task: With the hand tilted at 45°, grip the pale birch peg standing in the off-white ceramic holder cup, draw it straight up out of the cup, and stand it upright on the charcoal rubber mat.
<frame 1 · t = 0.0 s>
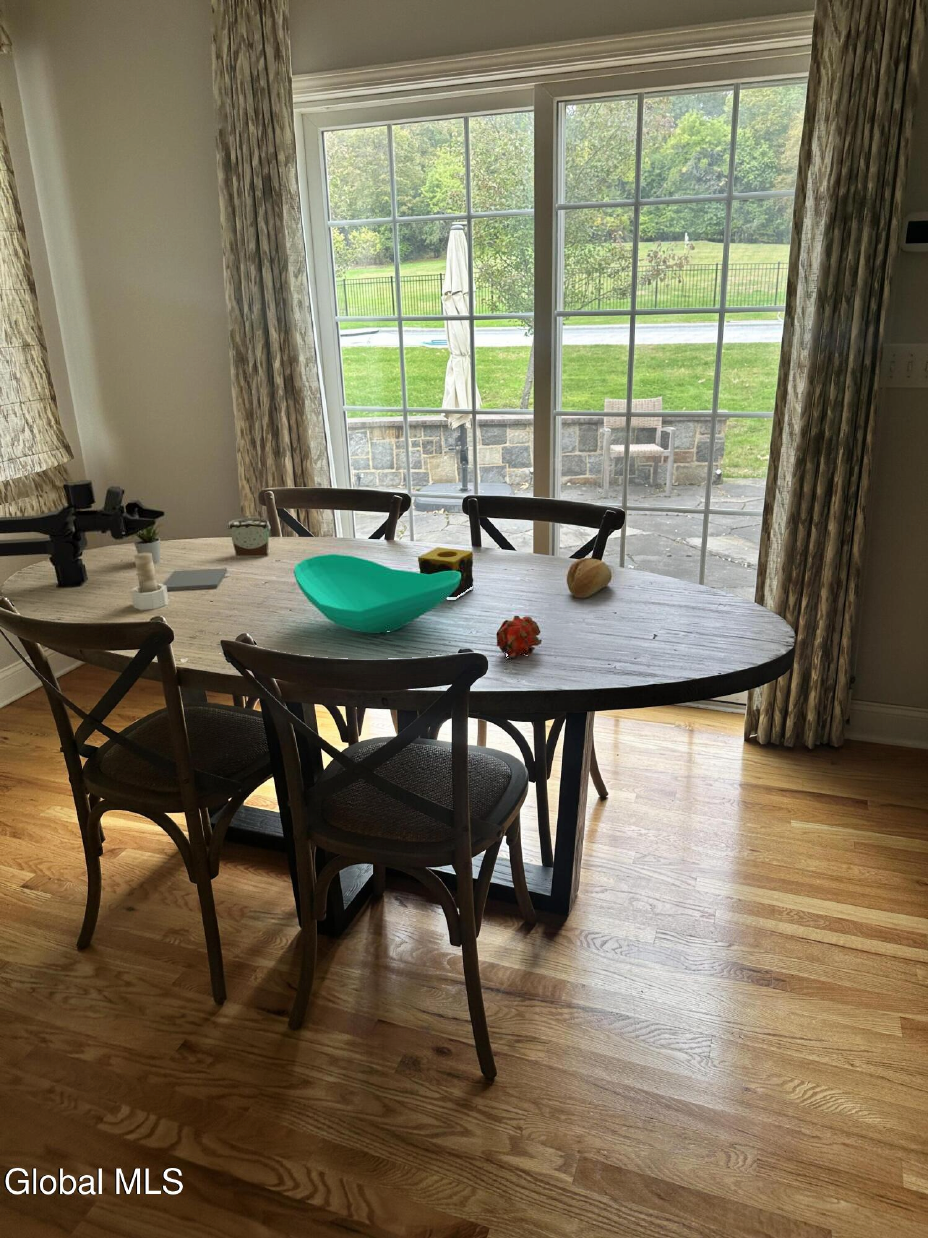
hand: (159, 517, 222), 17 cm above the table, tool horizontal, fingers open, 9 cm apart
house plant: (148, 561, 245), on the table
table top decor: (380, 628, 189), on the table
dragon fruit: (518, 655, 172), on the table
holder cup: (151, 604, 209), on the table
food container: (255, 554, 248), on the table
bread roll: (588, 592, 207), on the table
birch peg: (147, 579, 207), in the holder cup
rubber mat: (195, 581, 225), on the table
candle: (446, 593, 210), on the table
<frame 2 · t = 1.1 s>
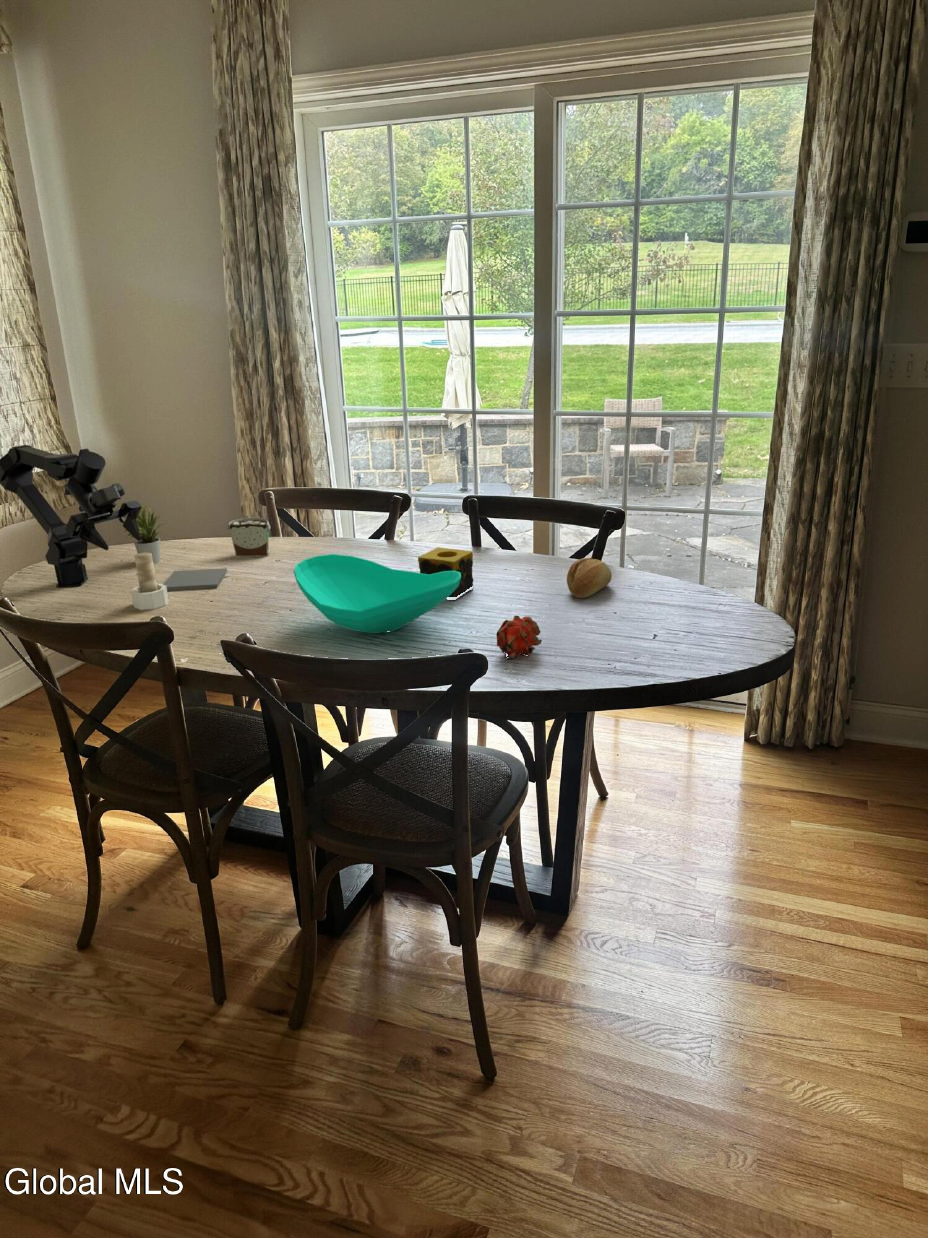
hand: (124, 544, 208), 14 cm above the table, tool tilted 45°, fingers open, 9 cm apart
nothing on the table moved.
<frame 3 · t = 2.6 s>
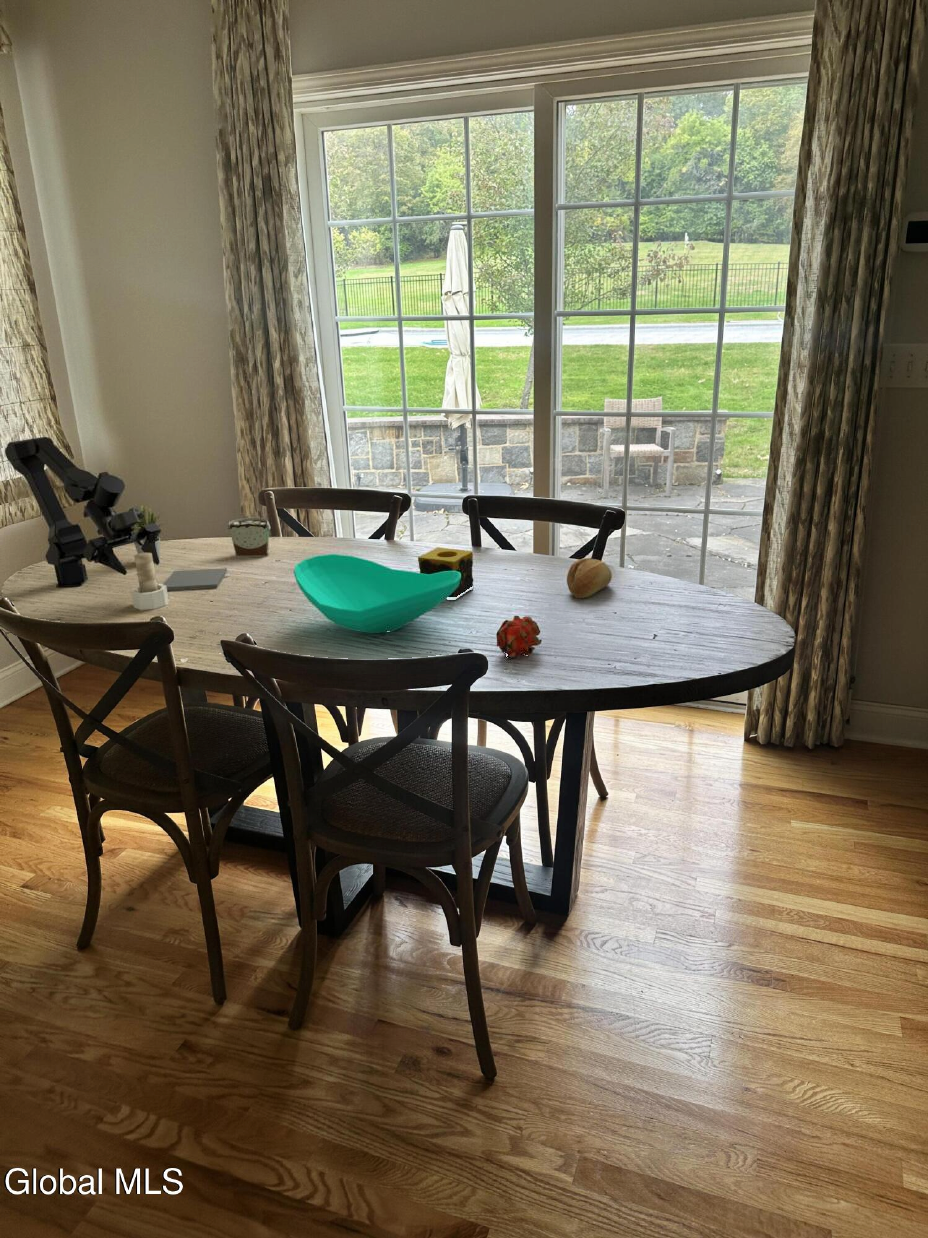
hand: (142, 568, 206), 9 cm above the table, tool tilted 45°, fingers open, 9 cm apart
nothing on the table moved.
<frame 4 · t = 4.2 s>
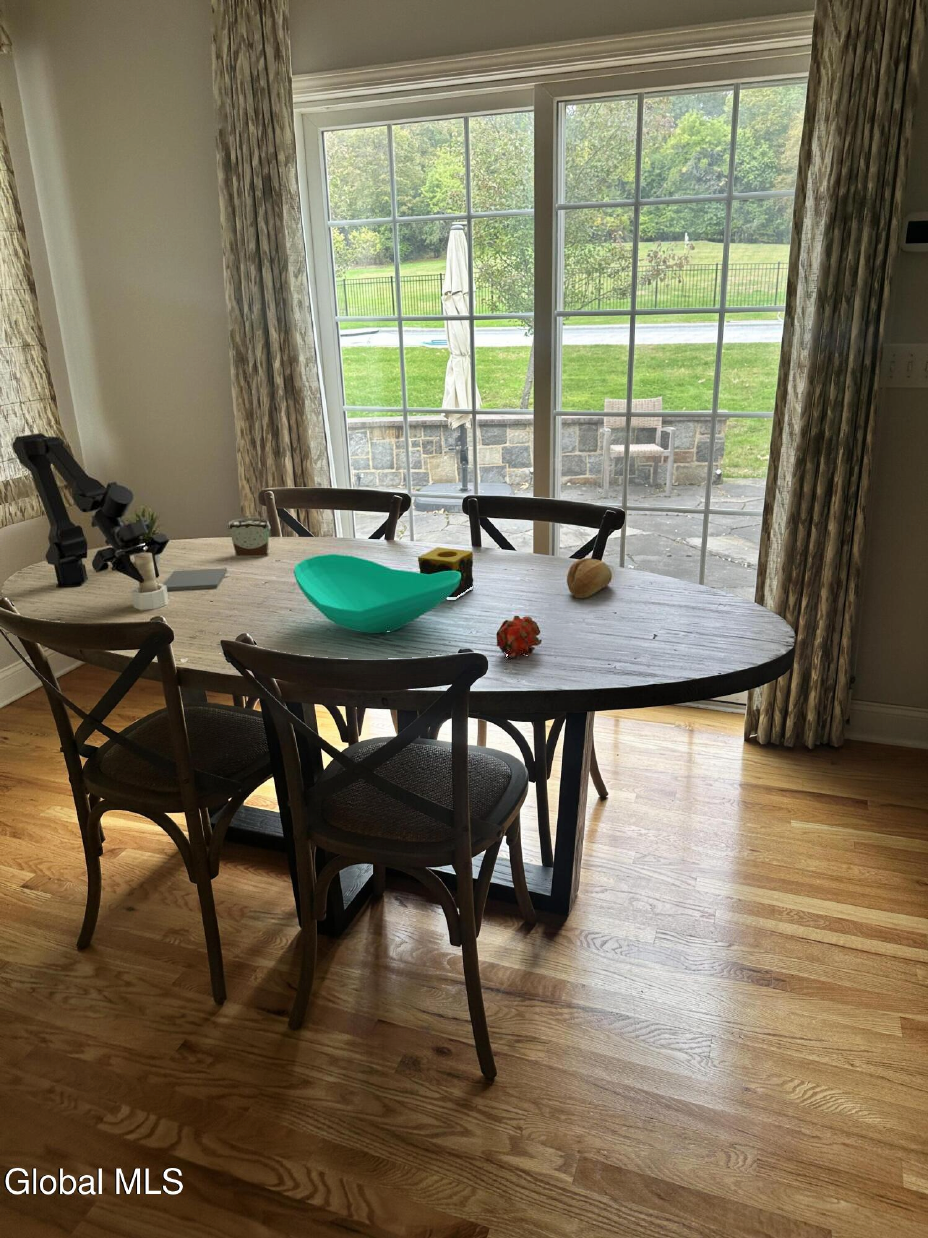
hand: (150, 579, 206), 7 cm above the table, tool tilted 45°, fingers closed on birch peg, 4 cm apart
birch peg: (147, 579, 207), in the holder cup, touching gripper
everything else where it was.
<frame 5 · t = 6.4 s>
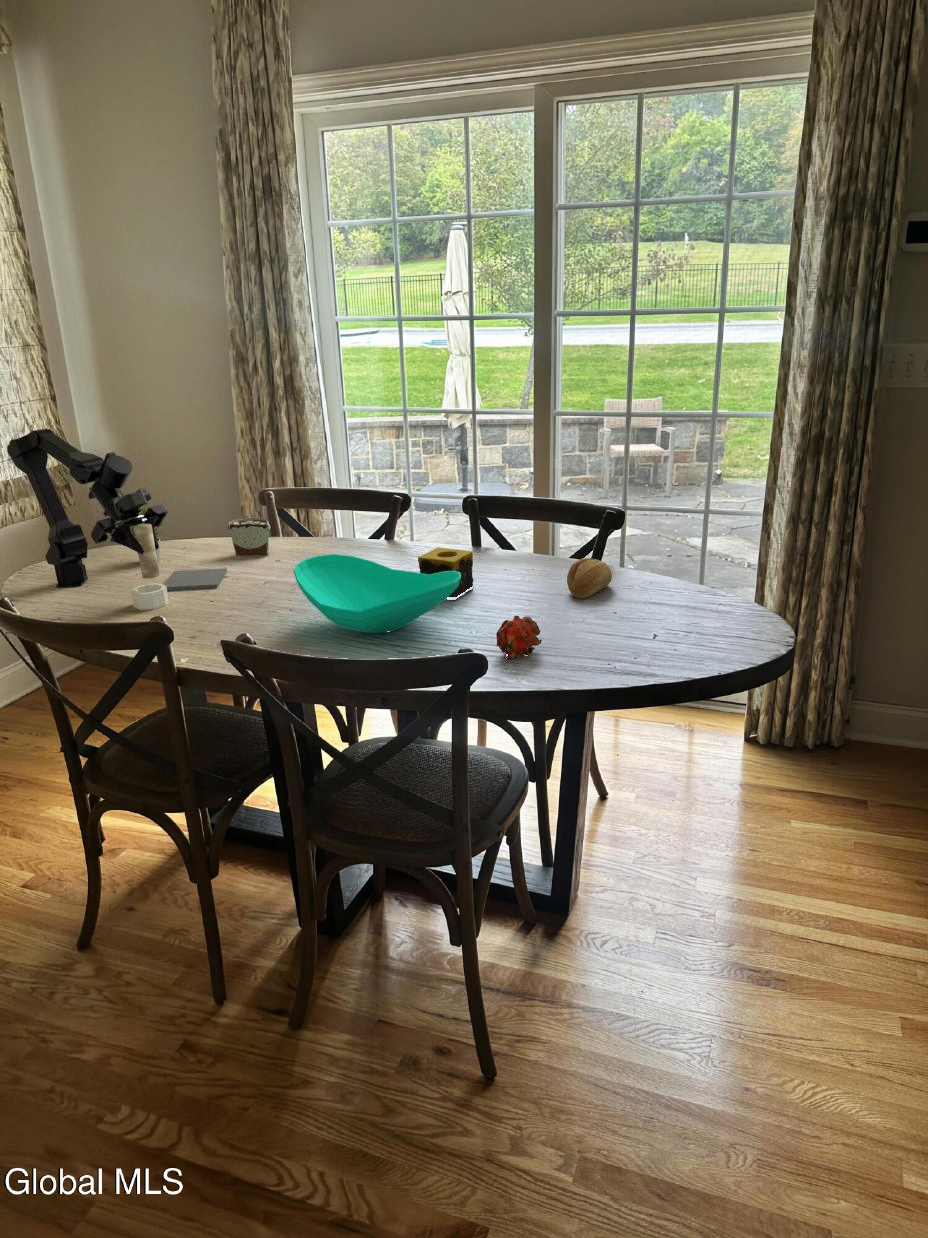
hand: (150, 550, 204), 13 cm above the table, tool tilted 45°, fingers closed on birch peg, 4 cm apart
birch peg: (146, 551, 205), point 13 cm above the table, touching gripper
everything else where it was.
when the fingers open (9 cm above the table, at t = 8.8 s): birch peg drops 1 cm, resting on rubber mat.
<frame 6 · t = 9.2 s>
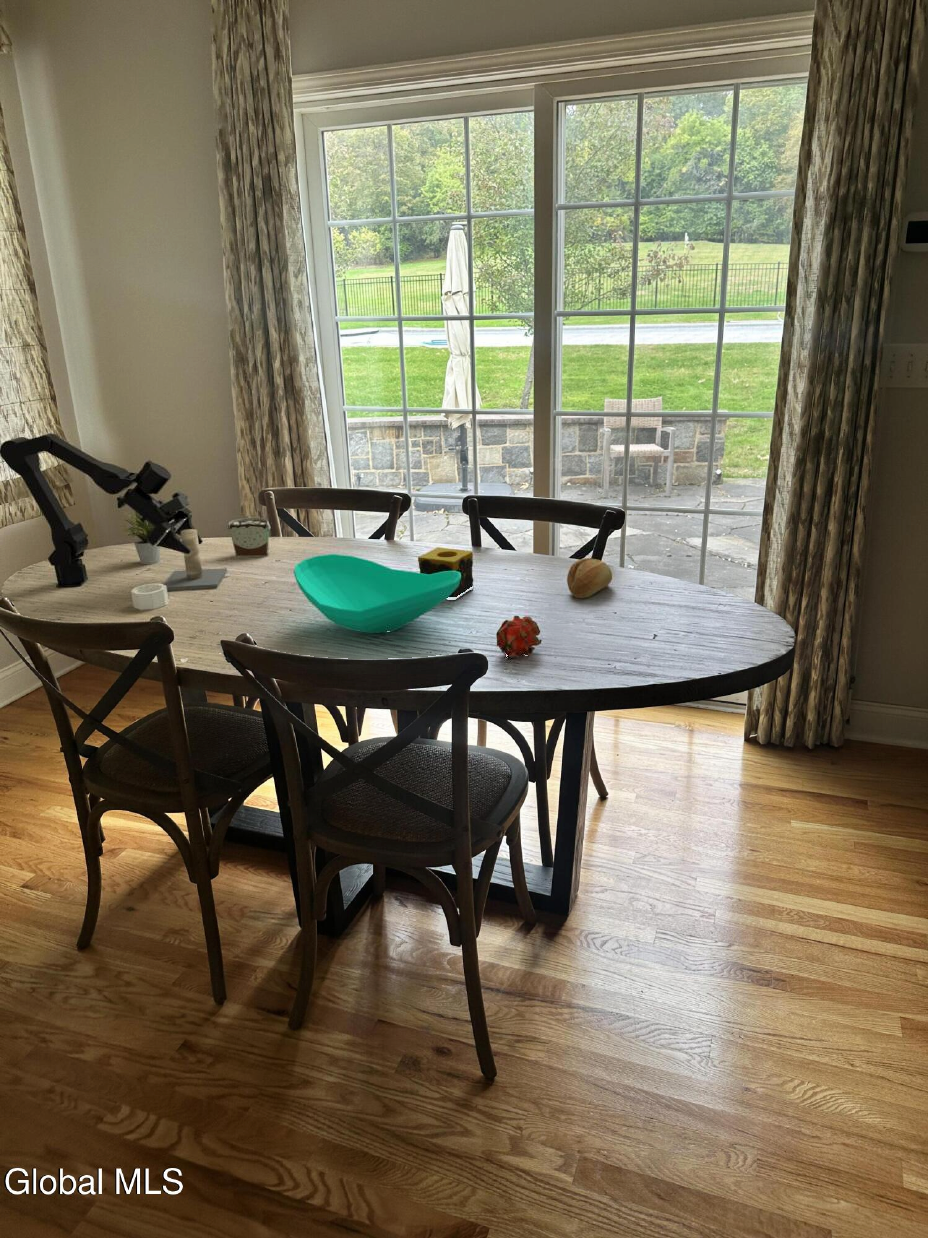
hand: (195, 547, 222), 9 cm above the table, tool tilted 45°, fingers open, 9 cm apart
birch peg: (191, 554, 222), on the rubber mat, point 7 cm above the table
everything else where it was.
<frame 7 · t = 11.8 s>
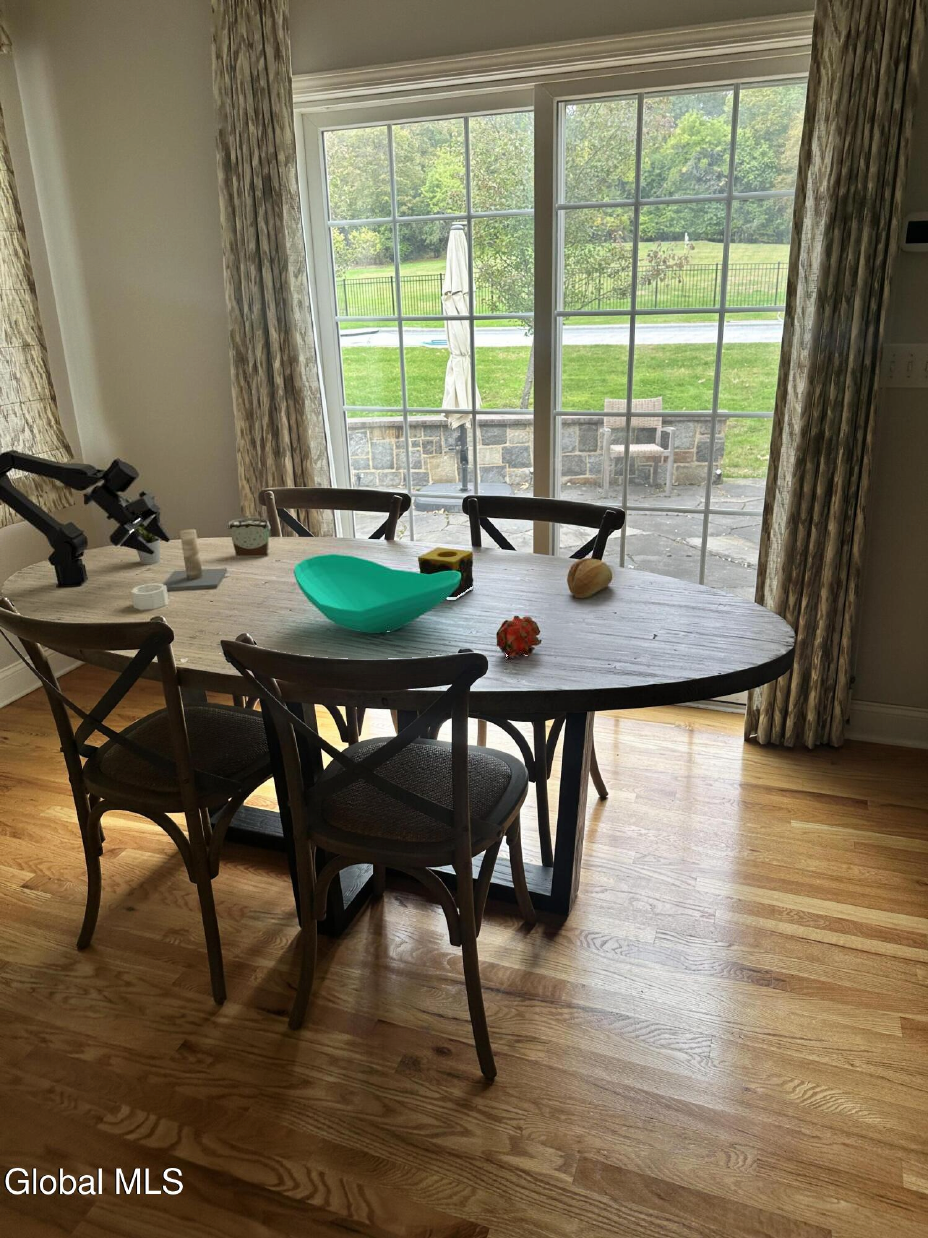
hand: (161, 547, 222), 9 cm above the table, tool tilted 40°, fingers open, 9 cm apart
nothing on the table moved.
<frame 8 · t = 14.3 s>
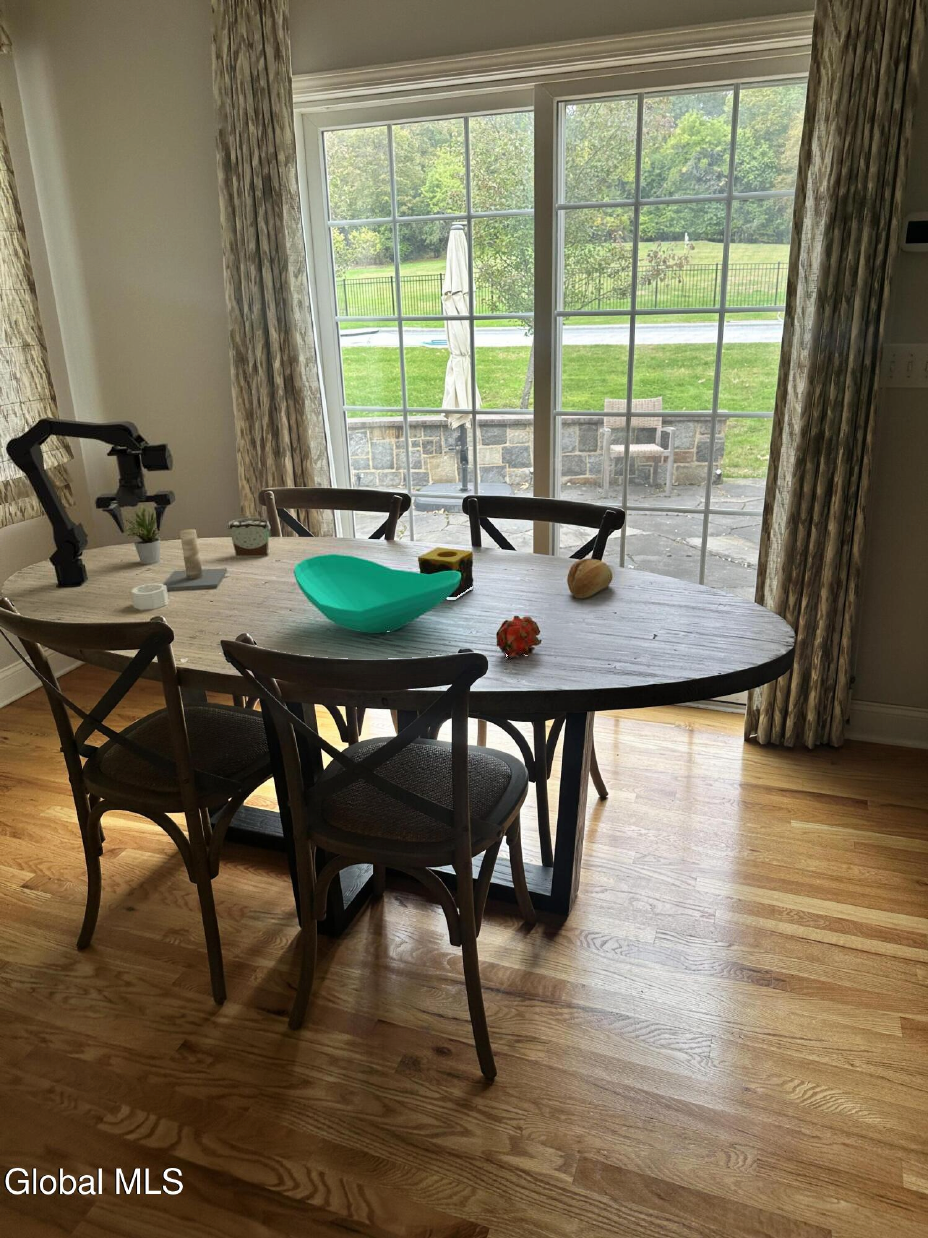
hand: (141, 531, 223), 13 cm above the table, tool pointing down, fingers open, 9 cm apart
nothing on the table moved.
at the end: birch peg inside the target area on the rubber mat (0.0 cm from its centre), point 7.2 cm above the rubber mat's base; birch peg tilted 0°; the gripper is holding nothing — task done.
